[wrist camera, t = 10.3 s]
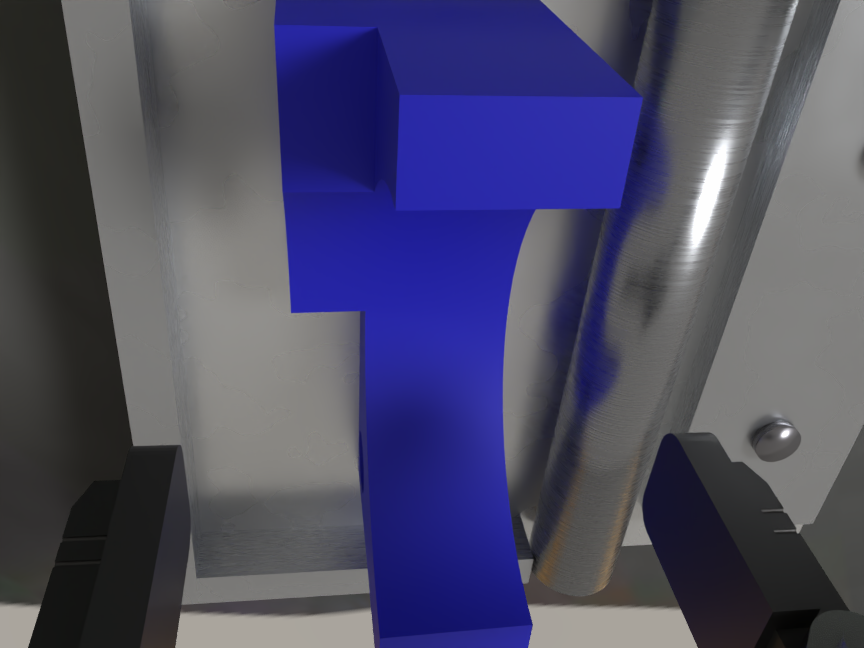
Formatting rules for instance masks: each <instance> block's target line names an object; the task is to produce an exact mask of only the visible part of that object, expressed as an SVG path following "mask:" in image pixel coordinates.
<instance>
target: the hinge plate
mask: <svg viewBox="0 0 864 648" xmlns="http://www.w3.org/2000/svg"><path fill="white" fill-rule="evenodd" d="M540 1H541V2H543V3H544V4H545V5H546V6H547V7H548V8H549V9H550V10H551V11H552V12H553V13H554V14H555V15H556V16H557V17H558V18H559V19H561V20H562V21H563V22H564V23H565V24H566V25H567V26H568V27H569V28H570V29H571V30H572V31H573V32H574V33H575V34H576V35H577V36H579V37H580V38H581V39H582V40H583V41H584V42H585V43H586V44H587V45H588V46H589V47H590V48H591V49H592V50H593V51H594V52H595V53H597V54H598V55H599V56H600V57H601V58H602V59H603V60H604V61H605V62H606V63H607V64H608V65H609V66H610V67H611V68H612V69H613V70H615V71H616V72H617V73H618V74H619V75H620V76H621V77H622V78H623V79H624V80H625V81H626V82H627V83H628V84H629V85H630V86H631V87H633V88H634V89H635V90H636V91H637V92H638V93H639V94H640V95H641V96H642V97H643V101H642V105H641V110H640V115H639V120H638V124H637V129H636V134H635V139H634V144H633V148H632V153H631V158H630V163H629V167H628V172H627V177H626V182H625V187H624V191H623V196H622V201H621V206H620V208H614V209H536V210H535V212H534V214H533V216H532V218H531V221H530V223H529V225H528V227H527V230H526V233H525V236H524V239H523V241H522V244H521V248H520V251H519V255H518V259H517V263H516V267H515V272H514V276H513V281H512V287H511V293H510V299H509V307H508V314H507V323H506V333H505V347H504V366H503V429H504V450H505V465H506V476H507V487H508V496H509V505H510V513H511V520H512V527H513V534H514V540H515V546H516V552H517V558H518V563H519V568H520V573H521V578H522V583H528V581H529V577H530V573H531V570H532V572H533V573H534V574H535V576H536V577H537V578H538V579H539V580H540V581H541V582H542V583H543V584H545V585H546V586H548V587H549V588H551V589H553V590H555V591H557V592H559V593H562V594H566V595H571V596H587V595H591V594H594V593H597V592H599V591H601V590H602V589H603V588H605V587H606V586H607V584H608V583H609V581H610V580H611V577H612V574H613V571H614V568H615V565H616V562H617V559H618V556H619V553H620V550H621V547H622V546H631V545H649V544H652V543H651V540H650V538H649V536H648V534H647V531H646V528H645V525H644V520H643V513H642V502H643V495H644V492H645V489H646V486H647V483H648V480H649V477H650V474H651V470H652V467H653V464H654V461H655V458H656V455H657V452H658V449H659V446H660V443H661V441H662V439H663V437H664V436H665V435H666V434H668V433H698V432H710V433H712V434H714V435H715V436H716V437H717V439H718V440H719V442H720V443H721V445H722V447H723V448H724V450H725V452H726V453H727V455H728V457H729V458H730V460H731V462H744V463H745V464H746V465H747V466H748V467H749V468H751V469H752V470H753V471H754V472H755V473H756V474H758V475H759V476H760V477H761V478H762V479H763V480H765V481H766V482H767V483H768V484H769V486H770V488H771V489H772V491H773V492H774V494H775V495H776V497H777V498H778V500H779V502H780V503H781V505H782V506H783V511H784V513H787V514H788V516H789V517H790V519H791V520H792V522H793V523H794V525H795V527H796V528H797V529H796V532H797V534H799V532H800V530H801V528H802V526H803V524H813V522H814V520H815V518H816V516H817V514H818V513H819V511H820V509H821V507H822V505H823V503H824V501H825V499H826V497H827V495H828V493H829V491H830V489H831V487H832V485H833V483H834V481H835V479H836V477H837V475H838V473H839V471H840V469H841V467H842V465H843V464H844V462H845V460H846V458H847V456H848V454H849V452H850V450H851V448H852V446H853V444H854V442H855V440H856V438H857V436H858V434H859V432H860V430H861V428H862V426H863V424H864V0H540ZM61 2H62V8H63V14H64V21H65V27H66V33H67V39H68V45H69V52H70V58H71V64H72V70H73V76H74V82H75V89H76V95H77V101H78V107H79V113H80V119H81V126H82V132H83V138H84V144H85V150H86V157H87V163H88V169H89V175H90V181H91V187H92V194H93V200H94V206H95V212H96V218H97V224H98V231H99V237H100V243H101V249H102V255H103V262H104V268H105V274H106V280H107V286H108V292H109V299H110V305H111V311H112V317H113V323H114V329H115V336H116V342H117V348H118V354H119V360H120V367H121V373H122V379H123V385H124V391H125V397H126V404H127V410H128V416H129V422H130V428H131V434H132V441H133V446H151V445H181V447H182V450H183V457H184V465H185V473H186V481H187V489H188V497H189V506H190V516H191V535H190V548H189V556H188V563H187V570H186V577H185V583H184V590H183V597H182V604H181V605H184V604H200V603H216V602H232V601H248V600H264V599H280V598H296V597H312V596H328V595H344V594H360V593H370V590H369V579H368V569H367V558H366V547H365V536H364V525H363V515H362V504H361V493H360V482H359V472H358V467H359V366H360V311H348V312H314V313H291V304H290V285H289V267H288V251H287V236H286V223H285V212H284V201H283V193H282V173H281V153H280V133H279V113H278V93H277V73H276V53H275V33H274V19H275V6H276V0H61Z"/></svg>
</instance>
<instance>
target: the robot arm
mask: <svg viewBox="0 0 864 648" xmlns="http://www.w3.org/2000/svg"><path fill="white" fill-rule="evenodd" d="M642 513H643V520H644V525H645V528H646V531H647V534H648V536H649V538H650V540H651V543H652V545H653V547H654V549H655V552H656V554H657V556H658V558H659V561H660V563H661V565H662V568H663V570H664V572H665V574H666V577H667V579H668V581H669V583H670V586H671V588H672V590H673V592H674V595H675V597H676V599H677V601H678V604H679V606H680V608H681V610H682V613H683V615H684V617H685V619H686V621H687V624H688V626H689V628H690V631H691V633H692V635H693V637H694V640H695V642H696V644H697V647H698V648H864V616H863V615H860V614H858V613H854V612H850V610H849V609H848V608H847V606H846V605H845V603H844V602H843V600H842V599H841V597H840V595H839V594H838V592H837V591H836V589H835V588H834V586H833V584H832V583H831V581H830V580H829V578H828V577H827V575H826V574H825V572H824V570H823V569H822V567H821V566H820V564H819V563H818V561H817V559H816V558H815V556H814V555H813V553H812V552H811V550H810V548H809V547H808V545H807V544H806V542H805V541H804V539H803V538H802V536H801V534H797V532H796V529H797V528H796V527H795V525H794V523H793V522H792V520H791V519H790V517H789V516H788V514H787V513H784V511H783V506H782V505H781V503H780V502H779V500H778V498H777V497H776V495H775V494H774V492H773V491H772V489H771V488H770V486H769V484H768V483H767V482H766V481H765V480H763V479H762V478H761V477H760V476H759V475H758V474H756V473H755V472H754V471H753V470H752V469H751V468H749V467H748V466H747V465H746V464H745V463H744V462H731V460H730V458H729V457H728V455H727V453H726V452H725V450H724V448H723V447H722V445H721V443H720V442H719V440H718V439H717V437H716V436H715V435H714V434H712V433H710V432H698V433H668V434H666V435H665V436H664V437H663V439H662V441H661V443H660V446H659V449H658V452H657V455H656V458H655V461H654V464H653V467H652V470H651V474H650V477H649V480H648V483H647V486H646V489H645V492H644V495H643V502H642ZM190 535H191V516H190V506H189V497H188V489H187V481H186V473H185V465H184V457H183V450H182V447H181V445H151V446H132V447H131V448H130V450H129V452H128V456H127V460H126V464H125V468H124V471H123V475H122V479H121V480H112V481H94V482H93V483H92V484H91V485H90V487H89V488H88V489H87V490H86V491H85V492H84V494H83V495H82V496H81V497H80V498H79V499H78V501H77V502H76V503H75V504H74V505H73V507H72V508H71V511H70V515H69V518H68V521H67V524H66V528H65V531H64V534H63V542H62V543H61V544H60V547H59V550H58V553H57V556H56V560H55V567H53V569H52V573H51V576H50V579H49V582H48V585H47V589H46V592H45V595H44V598H43V601H42V605H41V608H40V611H39V614H38V618H37V621H36V624H35V627H34V630H33V634H32V637H31V640H30V643H29V647H28V648H175V645H176V638H177V631H178V623H179V618H180V611H181V604H182V597H183V590H184V583H185V577H186V570H187V563H188V556H189V548H190Z"/></svg>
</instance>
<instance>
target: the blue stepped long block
mask: <svg viewBox="0 0 864 648" xmlns="http://www.w3.org/2000/svg"><path fill="white" fill-rule="evenodd" d="M274 33H275V53H276V73H277V93H278V113H279V133H280V153H281V173H282V193H283V201H284V212H285V223H286V236H287V251H288V267H289V285H290V304H291V313H314V312H348V311H360V366H359V467H358V472H359V482H360V493H361V504H362V515H363V525H364V536H365V547H366V558H367V569H368V579H369V590H370V601H371V612H372V622H373V633H374V644H375V648H528V645H529V640H530V635H531V630H532V626H533V624H532V620H531V616H530V612H529V609H528V605H527V601H526V596H525V592H524V588H523V583H522V578H521V573H520V568H519V563H518V558H517V552H516V546H515V540H514V534H513V527H512V520H511V513H510V505H509V496H508V487H507V476H506V465H505V450H504V429H503V366H504V347H505V333H506V323H507V314H508V307H509V299H510V293H511V287H512V281H513V276H514V272H515V267H516V263H517V259H518V255H519V251H520V248H521V244H522V241H523V239H524V236H525V233H526V230H527V227H528V225H529V223H530V221H531V218H532V216H533V214H534V212H535V210H536V209H614V208H620V206H621V201H622V196H623V191H624V187H625V182H626V177H627V172H628V167H629V163H630V158H631V153H632V148H633V144H634V139H635V134H636V129H637V124H638V120H639V115H640V110H641V105H642V101H643V97H642V96H641V95H640V94H639V93H638V92H637V91H636V90H635V89H634V88H633V87H631V86H630V85H629V84H628V83H627V82H626V81H625V80H624V79H623V78H622V77H621V76H620V75H619V74H618V73H617V72H616V71H615V70H613V69H612V68H611V67H610V66H609V65H608V64H607V63H606V62H605V61H604V60H603V59H602V58H601V57H600V56H599V55H598V54H597V53H595V52H594V51H593V50H592V49H591V48H590V47H589V46H588V45H587V44H586V43H585V42H584V41H583V40H582V39H581V38H580V37H579V36H577V35H576V34H575V33H574V32H573V31H572V30H571V29H570V28H569V27H568V26H567V25H566V24H565V23H564V22H563V21H562V20H561V19H559V18H558V17H557V16H556V15H555V14H554V13H553V12H552V11H551V10H550V9H549V8H548V7H547V6H546V5H545V4H544V3H543V2H541V1H540V0H276V6H275V19H274Z"/></svg>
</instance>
